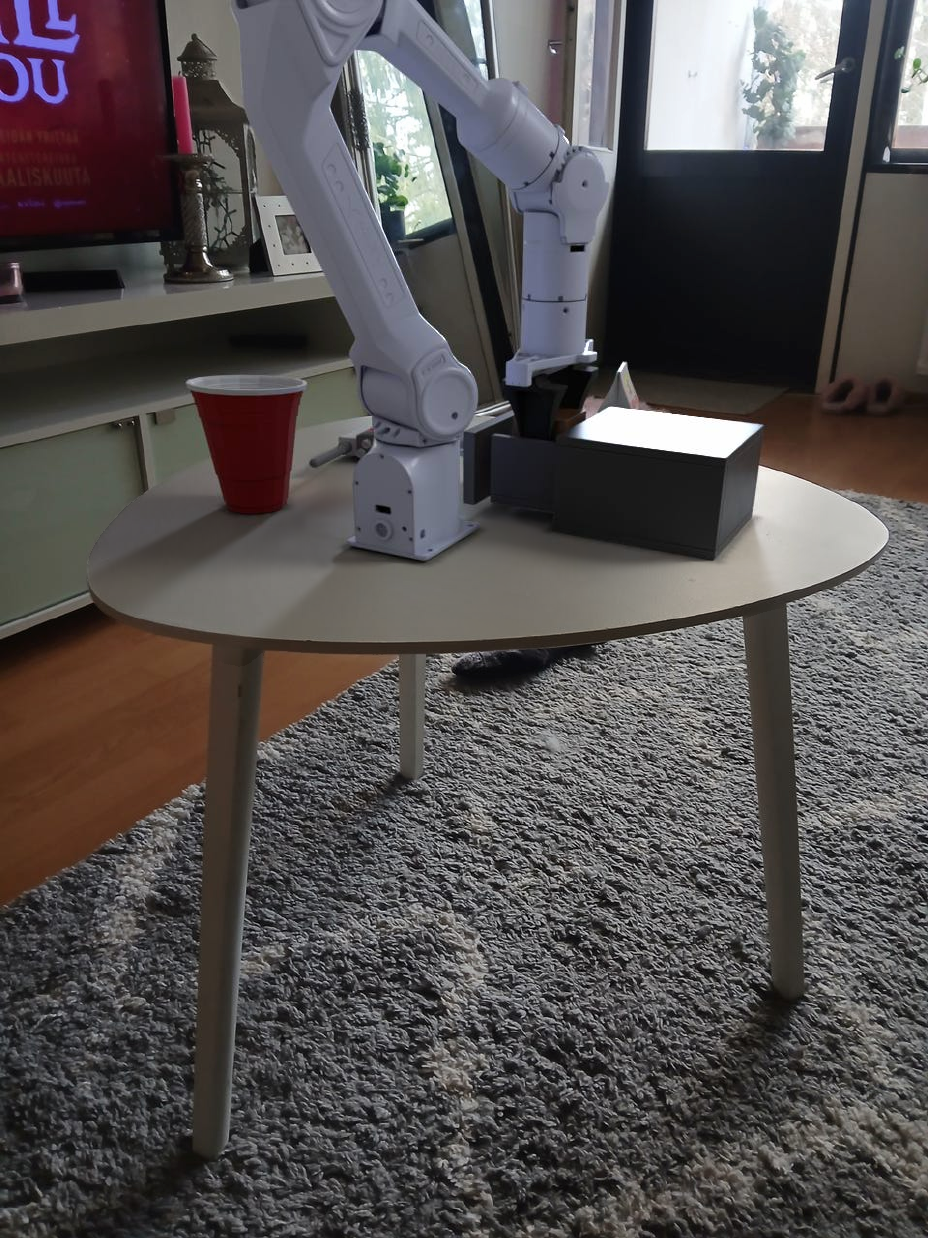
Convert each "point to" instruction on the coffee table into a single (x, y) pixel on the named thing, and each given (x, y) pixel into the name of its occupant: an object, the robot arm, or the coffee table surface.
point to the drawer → (507, 466)
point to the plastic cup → (250, 436)
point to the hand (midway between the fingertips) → (548, 451)
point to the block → (562, 421)
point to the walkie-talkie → (348, 446)
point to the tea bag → (621, 392)
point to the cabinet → (656, 480)
